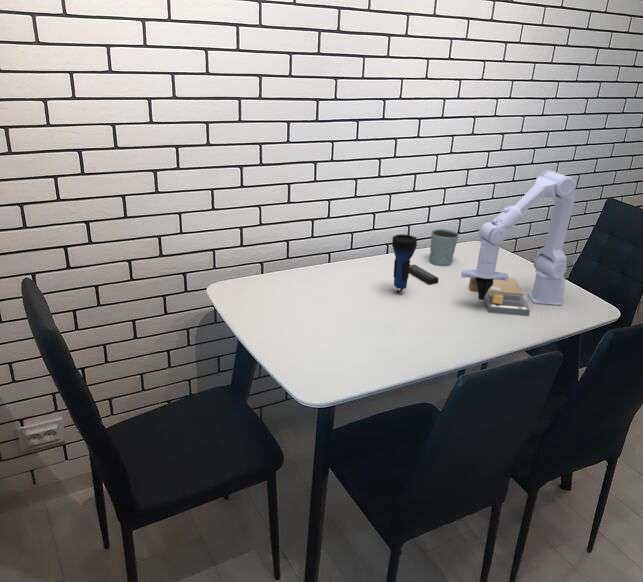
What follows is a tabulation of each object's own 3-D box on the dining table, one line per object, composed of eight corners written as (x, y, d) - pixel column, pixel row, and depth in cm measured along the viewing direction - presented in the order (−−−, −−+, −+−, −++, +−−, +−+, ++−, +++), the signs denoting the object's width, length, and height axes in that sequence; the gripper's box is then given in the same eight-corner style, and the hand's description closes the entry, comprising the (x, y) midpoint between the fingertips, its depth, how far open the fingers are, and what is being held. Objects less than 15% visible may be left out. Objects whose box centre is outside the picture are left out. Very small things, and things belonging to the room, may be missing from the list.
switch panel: (520, 300, 196) (522, 294, 195) (528, 315, 185) (530, 309, 184) (482, 296, 197) (483, 291, 196) (487, 312, 186) (488, 306, 185)
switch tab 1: (497, 294, 193) (499, 287, 192) (499, 297, 191) (500, 290, 190) (488, 293, 194) (490, 286, 193) (490, 296, 191) (491, 289, 190)
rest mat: (514, 279, 212) (515, 278, 212) (522, 295, 199) (523, 293, 199) (481, 277, 213) (482, 275, 213) (487, 292, 200) (488, 291, 200)
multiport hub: (428, 286, 204) (429, 280, 203) (404, 271, 216) (405, 265, 215) (438, 284, 206) (439, 278, 205) (413, 269, 218) (414, 264, 217)
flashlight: (385, 296, 194) (391, 240, 185) (388, 287, 201) (394, 232, 192) (409, 299, 192) (416, 243, 184) (411, 290, 199) (418, 235, 191)
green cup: (423, 258, 227) (426, 229, 222) (445, 256, 231) (449, 228, 226) (436, 268, 219) (440, 238, 214) (459, 265, 222) (463, 236, 217)
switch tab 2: (500, 300, 189) (501, 293, 188) (502, 303, 187) (503, 296, 186) (491, 299, 189) (492, 292, 188) (492, 303, 187) (493, 296, 186)
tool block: (480, 287, 204) (483, 272, 202) (481, 292, 200) (484, 276, 198) (468, 286, 204) (471, 271, 202) (470, 291, 201) (473, 275, 198)
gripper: (508, 257, 185) (501, 295, 191) (462, 253, 187) (456, 291, 192) (512, 265, 179) (504, 304, 185) (465, 261, 180) (459, 300, 186)
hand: (480, 298), depth 188 cm, fingers closed
